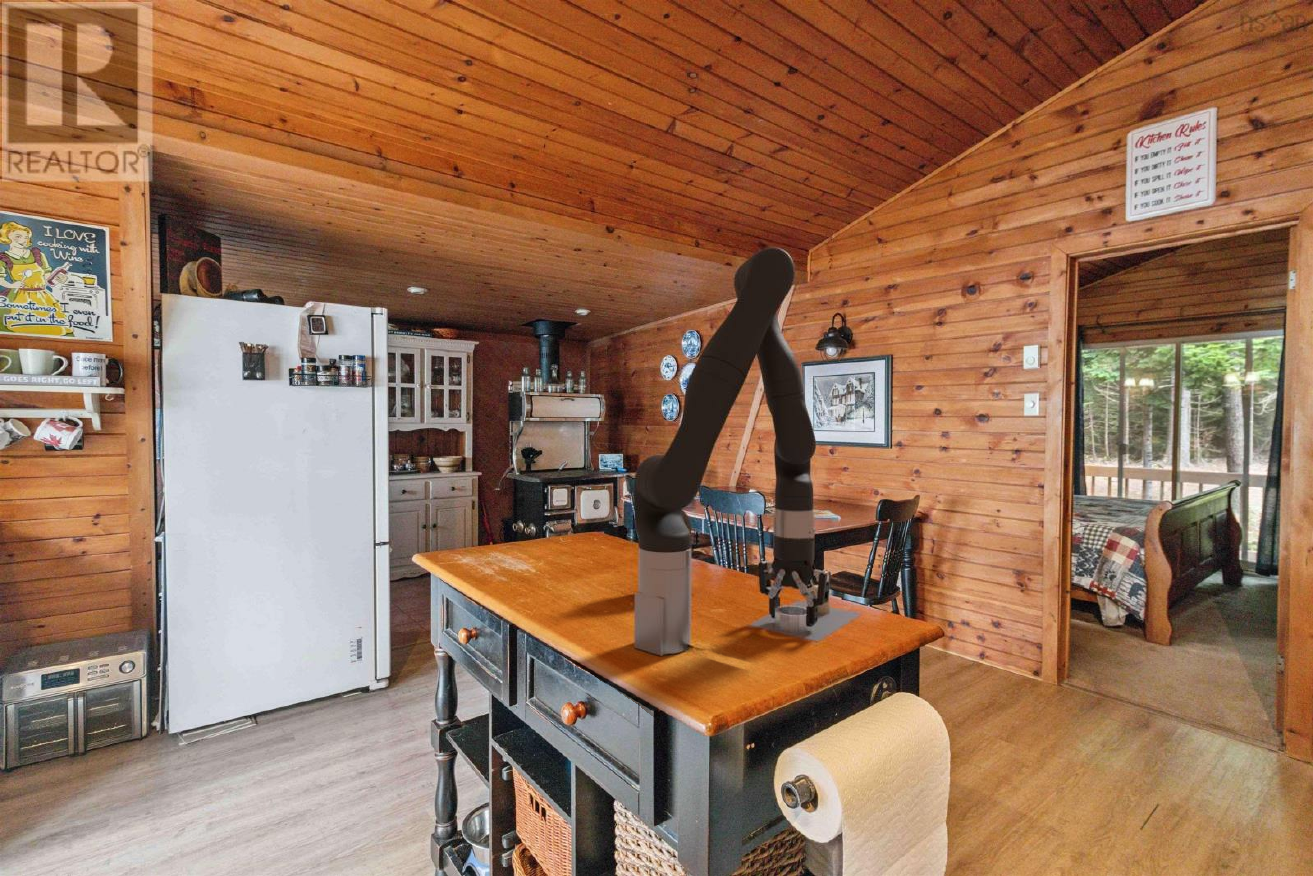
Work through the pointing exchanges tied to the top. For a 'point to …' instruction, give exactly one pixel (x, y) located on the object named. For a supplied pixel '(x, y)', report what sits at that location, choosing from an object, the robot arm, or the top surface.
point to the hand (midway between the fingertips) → (792, 621)
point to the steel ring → (791, 619)
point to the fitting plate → (825, 624)
